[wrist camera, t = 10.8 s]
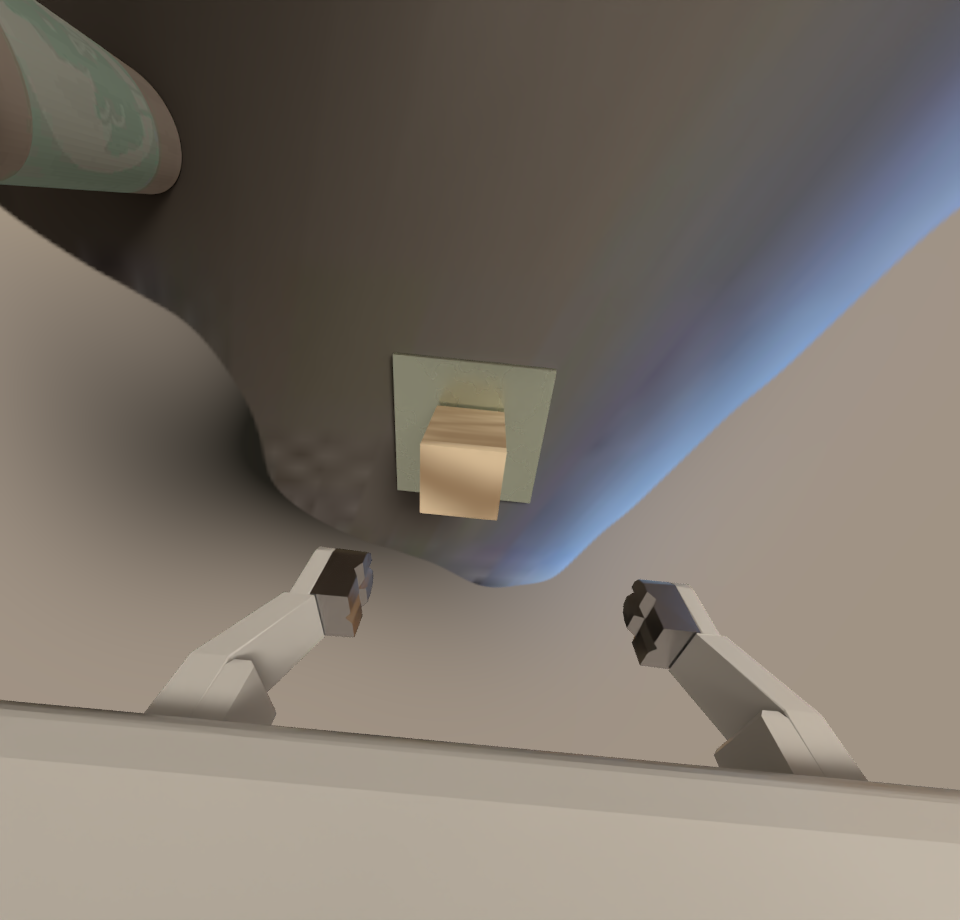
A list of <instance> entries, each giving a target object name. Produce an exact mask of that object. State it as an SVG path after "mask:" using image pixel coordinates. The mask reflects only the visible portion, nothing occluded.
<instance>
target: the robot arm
mask: <svg viewBox="0 0 960 920" xmlns="http://www.w3.org/2000/svg"><path fill="white" fill-rule="evenodd" d="M371 561H372V559H371V553H369V552H361V551H353V550H346V549H337V548H328V547H319V548H318V549H316V550H315V551H314V553H313V554H312V556H311V558H310V560H309V561H308V563H307V564H306V566H305V568H304V569H303V571H302V572H301V574H300V576H299V577H298V579H297V580H296V582H295V584H294V585H293V587H292V589H291V590H290V592H283V593H282V594H280V595H278V596H277V597H276V598H274V599H272V600H271V601H269V602H268V603H266V604H265V605H263V606H262V607H260V608H259V609H257V610H256V611H254V612H252V613H251V614H249V615H248V616H246V617H245V618H244V619H242V620H240V621H239V622H237V623H236V624H234V625H233V626H231V627H229V628H228V629H226V630H225V631H224V632H222V633H220V634H219V635H217V636H216V637H214V638H213V639H211V640H210V641H208V642H207V643H205V644H203V645H202V646H200V647H199V648H197V649H196V650H194V651H193V652H191V653H190V654H189V656H188V657H187V658H186V660H185V661H184V662H183V663H182V665H181V666H180V667H179V669H178V670H177V671H176V672H175V674H174V675H173V676H172V678H171V679H170V680H169V682H168V683H167V684H166V686H165V687H164V688H163V690H162V691H161V692H160V693H159V695H158V696H157V697H156V699H155V700H154V701H153V703H152V704H151V705H150V706H149V708H148V709H147V710H146V711H145V713H134V712H123V711H113V710H102V709H91V708H80V707H69V706H59V705H47V704H36V703H25V702H16V701H5V700H0V920H960V790H954V789H943V788H933V787H922V786H911V785H901V784H891V783H880V782H869V781H868V780H867V779H866V778H865V776H864V775H863V774H862V772H861V771H860V769H859V768H858V766H857V765H856V763H855V762H854V761H853V759H852V758H851V756H850V755H849V753H848V752H847V751H846V749H845V748H844V746H843V745H842V744H841V742H840V741H839V739H838V738H837V736H836V735H835V733H834V732H833V731H832V729H831V728H830V726H829V725H828V723H827V722H826V721H825V719H824V718H823V716H822V715H821V714H820V713H819V712H817V711H816V710H815V709H814V708H813V707H811V706H810V705H809V704H808V703H806V702H805V701H804V700H803V699H801V698H800V697H799V696H798V695H797V694H796V693H794V692H793V691H792V690H791V689H789V688H788V687H787V686H786V685H785V684H783V683H782V682H781V681H780V680H779V679H777V678H776V677H775V676H774V675H772V674H771V673H770V672H769V671H767V670H766V669H765V668H764V667H763V666H761V665H760V664H759V663H758V662H757V661H755V660H754V659H753V658H752V657H750V656H749V655H748V654H747V653H746V652H744V651H743V650H742V649H741V648H739V647H738V646H737V645H736V644H735V643H733V642H732V641H731V640H730V639H728V638H727V637H726V636H721V635H720V634H719V632H718V631H717V629H716V627H715V625H714V624H713V622H712V620H711V619H710V617H709V615H708V614H707V612H706V610H705V609H704V607H703V605H702V603H701V602H700V600H699V598H698V597H697V595H696V594H695V592H694V590H693V588H692V587H691V586H689V585H688V584H679V583H669V582H661V581H650V580H637V581H635V582H634V584H633V586H632V589H633V592H634V593H632V594H630V595H629V596H627V597H626V600H625V602H624V606H623V607H624V608H623V615H624V621H625V624H626V627H627V629H628V630H629V631H630V632H631V633H632V634H633V635H634V639H633V641H632V644H633V647H634V649H635V653H636V655H637V658H638V661H639V664H640V665H641V666H650V667H657V668H665V669H669V672H670V673H671V674H672V675H673V676H674V678H675V679H676V680H677V681H678V682H679V683H680V685H681V686H682V687H683V688H684V689H685V691H686V692H687V693H688V694H689V695H690V696H691V698H692V699H693V700H694V701H695V702H696V704H697V705H698V706H699V707H700V708H701V710H702V711H703V712H704V713H705V714H706V716H707V717H708V718H709V719H710V720H711V721H712V723H713V724H714V725H715V726H716V727H717V728H718V730H719V731H720V732H721V733H722V734H723V736H724V737H725V738H726V739H727V741H726V742H725V743H724V744H722V745H721V746H720V747H719V748H718V749H717V750H716V752H715V754H714V756H715V759H716V761H717V763H718V766H719V767H710V766H699V765H688V764H678V763H668V762H657V761H646V760H636V759H624V758H615V757H603V756H593V755H583V754H572V753H562V752H551V751H540V750H529V749H519V748H508V747H498V746H486V745H476V744H466V743H455V742H444V741H434V740H423V739H412V738H401V737H391V736H380V735H370V734H359V733H348V732H337V731H326V730H316V729H304V728H295V727H294V728H293V727H284V726H272V725H271V724H272V722H273V720H274V718H275V716H276V712H275V708H274V706H273V704H272V702H271V700H270V698H269V696H268V694H267V692H268V691H269V690H270V689H271V688H272V687H273V686H274V685H275V684H276V683H277V682H278V681H279V680H280V679H281V678H282V677H283V676H284V675H285V674H286V673H288V672H289V671H290V670H291V669H292V668H293V667H294V666H295V665H296V664H297V663H298V662H299V661H300V660H301V659H302V658H303V657H304V656H305V655H306V654H307V653H308V652H309V651H311V649H313V648H314V647H315V646H316V645H317V644H318V643H319V642H320V641H321V640H322V639H323V638H324V635H329V636H344V637H355V634H356V632H357V629H358V626H359V624H360V621H361V618H362V609H361V607H362V606H363V605H365V604H366V603H367V602H368V599H369V596H370V594H371V589H372V584H373V571H372V570H371V569H370V568H369V566H370V564H371Z"/></svg>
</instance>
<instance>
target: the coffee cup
mask: <svg viewBox="0 0 960 920" xmlns="http://www.w3.org/2000/svg"><path fill="white" fill-rule="evenodd" d="M181 163H182V152H181V144H180V139H179V135H178V132H177V129H176V126H175V123H174V121H173V119H172V116H171V114H170V112H169V111H168V109H167V107H166V105H165V104H164V102H163V100H162V99H161V98H160V96H159V95H158V93H157V92H156V91H155V90H154V88H153V87H152V86H151V85H150V84H149V83H148V82H147V81H146V80H145V79H144V78H143V77H142V76H141V75H140V74H138V73H137V72H136V71H135V70H133V69H132V68H130V67H129V66H128V65H126V64H125V63H123V62H122V61H121V60H119V59H118V58H116V57H115V56H113V55H112V54H111V53H109V52H108V51H106V50H105V49H104V48H102V47H101V46H100V45H98V44H97V43H95V42H94V41H92V40H91V39H90V38H88V37H87V36H85V35H84V34H82V33H81V32H80V31H78V30H77V29H75V28H74V27H73V26H71V25H70V24H68V23H67V22H65V21H64V20H63V19H61V18H60V17H58V16H57V15H55V14H54V13H53V12H51V11H50V10H48V9H47V8H46V7H44V6H43V5H41V4H40V3H38V2H37V1H36V0H0V184H3V185H17V186H32V187H47V188H62V189H77V190H92V191H107V192H122V193H140V194H158V193H162V192H164V191H166V190H168V189H169V188H171V187H172V186H173V184H174V183H175V182H176V180H177V178H178V176H179V173H180V169H181Z"/></svg>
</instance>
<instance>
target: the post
mask: <svg viewBox="0 0 960 920" xmlns="http://www.w3.org/2000/svg"><path fill="white" fill-rule="evenodd" d="M556 372H557V371H556V369H551V368H541V367H532V366H522V365H512V364H502V363H493V362H483V361H473V360H464V359H454V358H444V357H434V356H425V355H415V354H405V353H396V352H395V353H394V354H393V378H394V406H395V434H396V463H397V490H403V491H413V492H420V443H421V441H422V439H423V436H424V434H425V432H426V429H427V427H428V425H429V423H430V420H431V418H432V416H433V413H434V411H435V409H436V406H437V405H438V406H448V407H458V408H468V409H478V410H487V411H497V412H504V414H505V431H506V448H507V455H506V461H505V468H504V475H503V482H502V488H501V495H500V500H503V501H513V502H523V503H530V500H531V495H532V490H533V485H534V480H535V475H536V470H537V465H538V461H539V456H540V451H541V446H542V441H543V436H544V431H545V426H546V421H547V416H548V411H549V407H550V402H551V397H552V392H553V387H554V382H555V377H556Z"/></svg>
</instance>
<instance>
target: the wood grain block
mask: <svg viewBox="0 0 960 920" xmlns="http://www.w3.org/2000/svg"><path fill="white" fill-rule="evenodd" d="M506 455H507V448H506V431H505V414H504V412H497V411H487V410H478V409H468V408H458V407H448V406H438V405H437V406H436V409H435V411H434V413H433V416H432V418H431V420H430V423H429V425H428V427H427V429H426V432H425V434H424V436H423V439H422V441H421V443H420V513H427V514H437V515H447V516H457V517H467V518H477V519H487V520H497V515H498V509H499V502H500V495H501V488H502V482H503V475H504V468H505V461H506Z"/></svg>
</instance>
